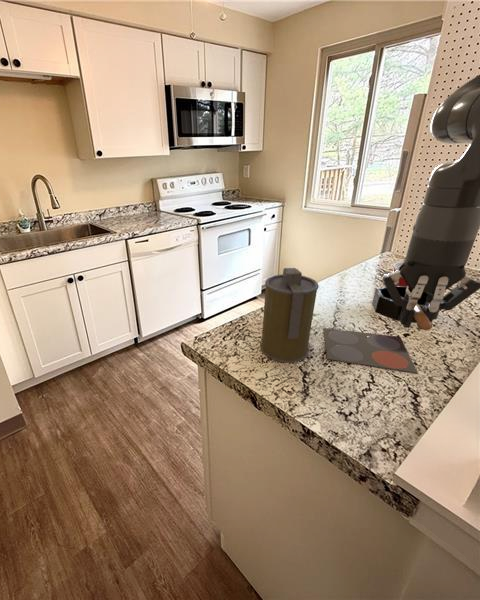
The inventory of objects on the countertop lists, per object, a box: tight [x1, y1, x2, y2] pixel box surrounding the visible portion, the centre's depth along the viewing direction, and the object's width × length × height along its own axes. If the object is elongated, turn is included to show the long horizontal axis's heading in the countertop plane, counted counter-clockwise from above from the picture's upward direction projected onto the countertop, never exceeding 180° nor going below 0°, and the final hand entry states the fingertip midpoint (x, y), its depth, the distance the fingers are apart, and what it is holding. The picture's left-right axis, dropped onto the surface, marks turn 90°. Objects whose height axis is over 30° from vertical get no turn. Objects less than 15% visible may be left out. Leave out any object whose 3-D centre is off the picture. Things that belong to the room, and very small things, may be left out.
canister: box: [259, 267, 319, 364], centre depth 69 cm, size 11×10×20 cm
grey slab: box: [323, 327, 419, 374], centre depth 71 cm, size 16×14×1 cm
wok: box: [371, 285, 441, 331], centre depth 58 cm, size 10×17×4 cm, turn 155°
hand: (413, 326), depth 57 cm, fingers closed on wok
